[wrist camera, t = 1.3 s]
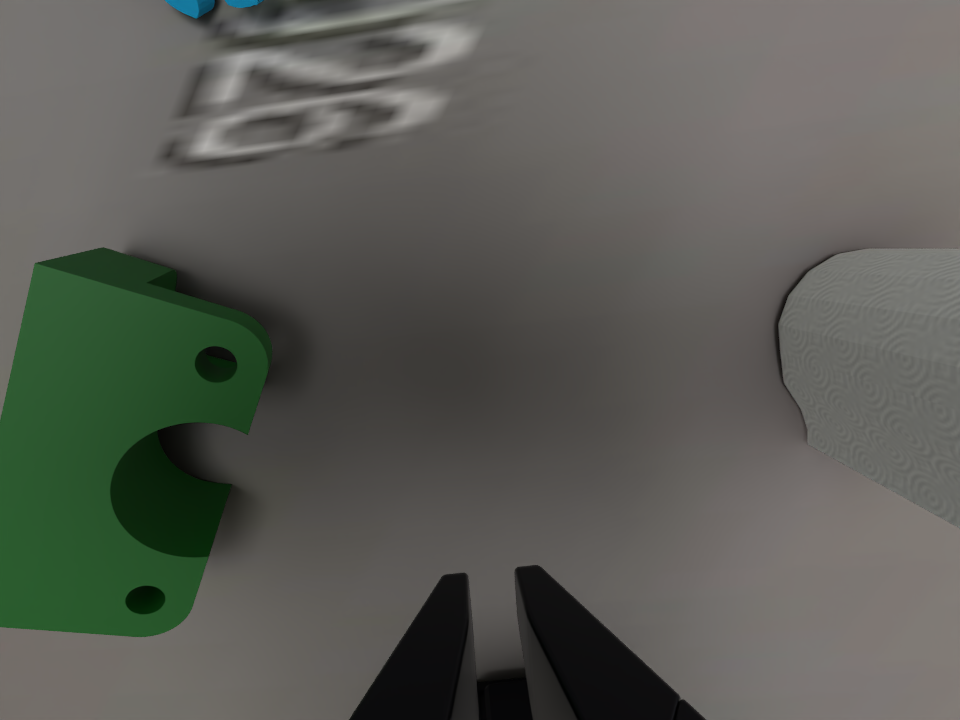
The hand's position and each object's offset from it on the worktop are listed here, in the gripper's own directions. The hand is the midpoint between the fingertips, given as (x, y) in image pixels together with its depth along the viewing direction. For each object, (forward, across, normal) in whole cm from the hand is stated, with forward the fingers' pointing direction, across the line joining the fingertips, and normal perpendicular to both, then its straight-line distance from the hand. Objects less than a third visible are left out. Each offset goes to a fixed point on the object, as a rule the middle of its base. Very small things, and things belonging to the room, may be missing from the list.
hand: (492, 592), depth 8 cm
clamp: (+12, +11, 0) cm, 17 cm away
